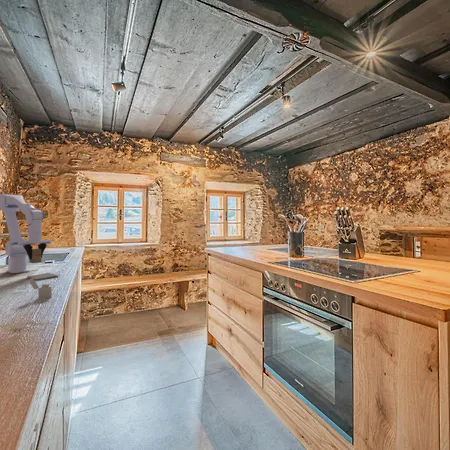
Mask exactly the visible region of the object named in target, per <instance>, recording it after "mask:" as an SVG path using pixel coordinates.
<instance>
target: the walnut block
mask: <svg viewBox="0 0 450 450" xmlns="http://www.w3.org/2000/svg"><path fill="white" fill-rule="evenodd" d="M28 259H29V258H28ZM29 263H32V264H36V263H42V258H41V249H39V248H32V259H29Z"/></svg>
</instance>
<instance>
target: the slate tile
mask: <svg viewBox="0 0 450 450" xmlns="http://www.w3.org/2000/svg"><path fill="white" fill-rule="evenodd" d="M58 277H59V275H58V274H54V273H51V272H47V273H40V274H33V275H28V276H26V278H27V279H28V280H30V279H32V278H33V279H34V280H35V282H37V281H42V280H48V279H54V278H58Z"/></svg>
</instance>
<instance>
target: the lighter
mask: <svg viewBox="0 0 450 450" xmlns="http://www.w3.org/2000/svg"><path fill="white" fill-rule="evenodd" d="M28 283H30V285H31V286H32V288H33V290H34V291H35V290H37V289H38V292H37V293H38V300H41V299H42V300H43V298H44V299H49V298H50V299H51V298H52V297H53V296H52V295H53V293H52V285H50V284H49V283H43V284H41V286H39V285H38V284H37V281H35V280H34V279H33V278H32V279H28Z"/></svg>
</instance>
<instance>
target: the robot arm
mask: <svg viewBox="0 0 450 450" xmlns="http://www.w3.org/2000/svg"><path fill="white" fill-rule="evenodd" d="M0 210H1V211H2V212H3V213H4V218H5V222H6V227H7V229H8V231H7V232H8V234H9V240H8V241H7V242H6V243H5V244H4V245H5V249H4V250H5V254H6V255H7V256H8V259H7V260H8V261H7V264H8V265H7V266H8V270H7V269H6V272H8V273H9V274H10V273H11V274H19V273H26V272H30V269H27V257H28V259H32V249H34V248H33V247H34V246H35V245H37V247H38V248H39V249H41V259H42V258H43V255H44V252H45V250H46V248H47V245H51V244H52V240H51V239H46V240H44V239H43V238H42V237H43V235H42V234H43V231H42V230H43V228H42V221H44V218H45V213H44V211H43V210H42V209H37V208H36V207H35V206H33V205H32V203H30V202H29V203H28V202H26V201H25V200H24V196H23V195H21V194H7V193H0ZM18 211H20V212H21V213H22V214H24V216H25V219H26V224H27V227H28V228H27V229H28V231H27V232H28V233H27V234H28V237H27V238H28V239H25V238H23V237H22V234H21V229H20V225H19V221H18V218H17V214H16V213H17V212H18Z"/></svg>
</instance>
